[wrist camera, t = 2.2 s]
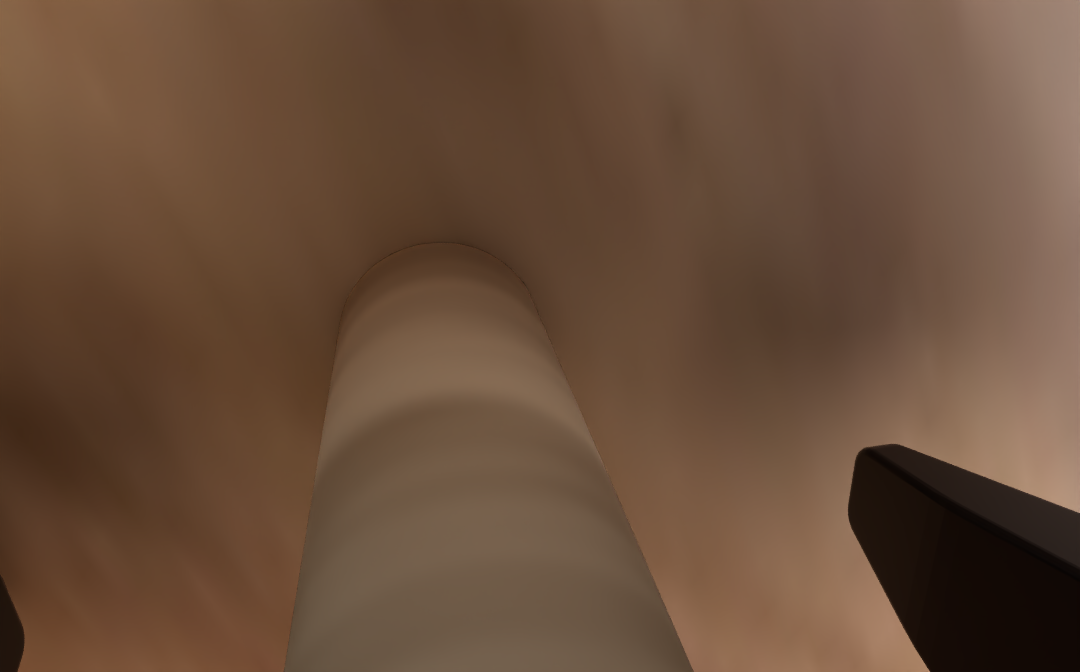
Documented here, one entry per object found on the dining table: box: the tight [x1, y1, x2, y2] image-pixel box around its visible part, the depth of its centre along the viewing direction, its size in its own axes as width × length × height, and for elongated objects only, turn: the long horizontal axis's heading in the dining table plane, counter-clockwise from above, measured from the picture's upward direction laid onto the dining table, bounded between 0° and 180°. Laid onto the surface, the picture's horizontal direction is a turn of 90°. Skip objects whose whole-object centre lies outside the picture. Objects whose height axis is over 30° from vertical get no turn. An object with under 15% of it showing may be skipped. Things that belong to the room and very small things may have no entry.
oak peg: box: [284, 243, 694, 672], centre depth 8 cm, size 3×3×10 cm
